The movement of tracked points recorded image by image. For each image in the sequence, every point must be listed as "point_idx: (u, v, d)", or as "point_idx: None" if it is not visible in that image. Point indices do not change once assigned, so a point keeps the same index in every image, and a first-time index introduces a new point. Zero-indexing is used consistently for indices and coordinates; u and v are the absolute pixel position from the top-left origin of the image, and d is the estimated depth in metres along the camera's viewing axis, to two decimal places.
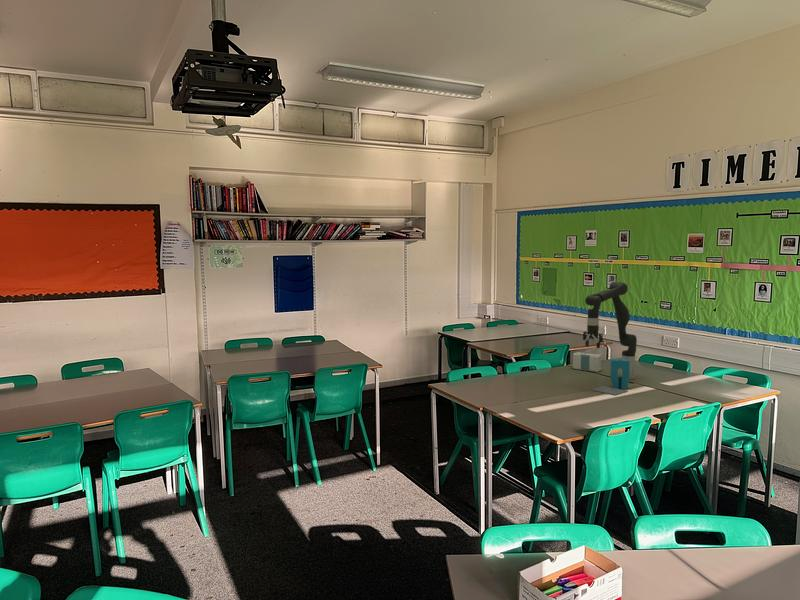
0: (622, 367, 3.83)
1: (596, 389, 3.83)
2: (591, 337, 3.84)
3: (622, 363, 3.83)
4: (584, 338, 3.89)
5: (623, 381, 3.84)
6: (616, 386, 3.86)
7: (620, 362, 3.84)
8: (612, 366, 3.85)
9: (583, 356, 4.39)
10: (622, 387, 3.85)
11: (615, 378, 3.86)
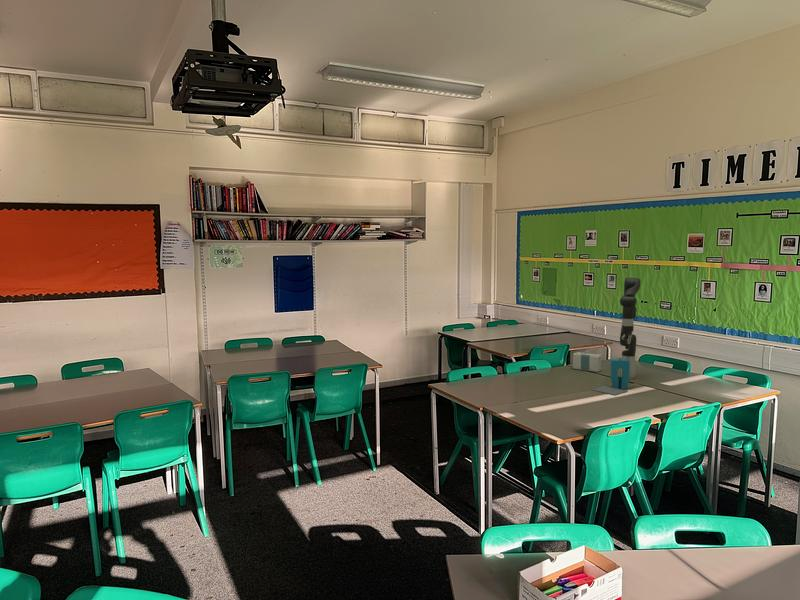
0: (622, 367, 3.83)
1: (596, 389, 3.83)
2: None
3: (622, 363, 3.83)
4: (627, 341, 3.87)
5: (623, 381, 3.84)
6: (616, 386, 3.86)
7: (620, 362, 3.84)
8: (612, 366, 3.85)
9: (583, 356, 4.39)
10: (622, 387, 3.85)
11: (615, 378, 3.86)
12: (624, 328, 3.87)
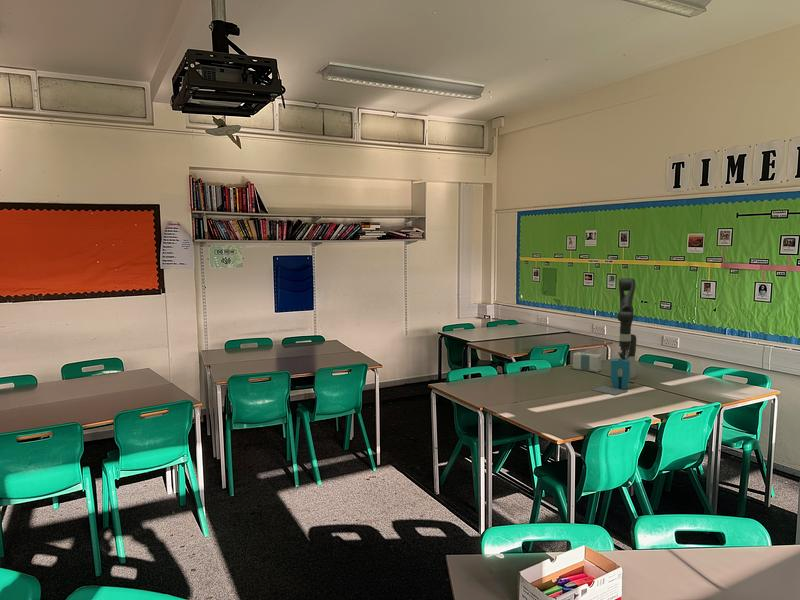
0: (622, 367, 3.83)
1: (596, 389, 3.83)
2: None
3: (622, 363, 3.83)
4: (624, 357, 3.87)
5: (623, 381, 3.84)
6: (616, 386, 3.86)
7: (620, 362, 3.83)
8: (612, 366, 3.85)
9: (583, 356, 4.39)
10: (622, 387, 3.85)
11: (615, 378, 3.85)
12: (621, 343, 3.86)
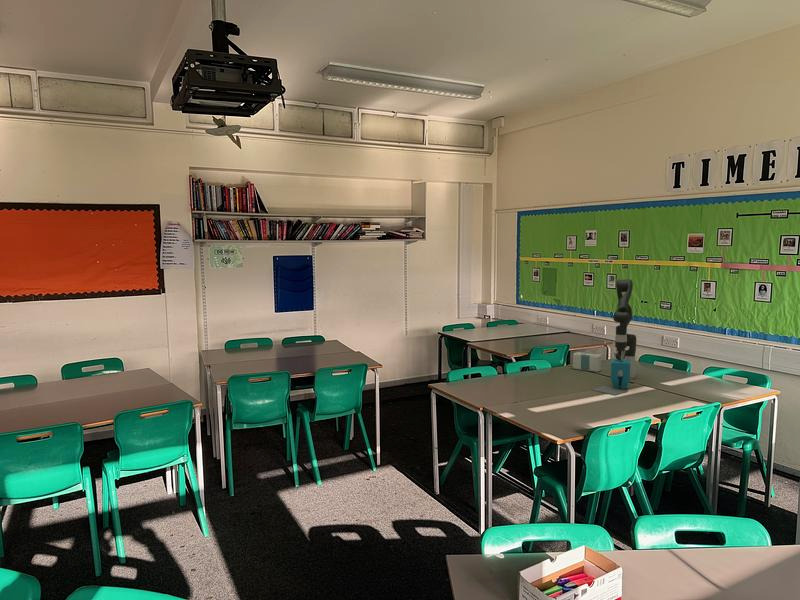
0: (622, 369, 3.80)
1: (596, 389, 3.83)
2: None
3: (623, 365, 3.79)
4: (620, 358, 3.84)
5: (623, 382, 3.83)
6: (616, 386, 3.86)
7: (620, 364, 3.79)
8: (612, 368, 3.82)
9: (583, 356, 4.39)
10: (622, 387, 3.85)
11: (615, 379, 3.84)
12: (617, 344, 3.83)
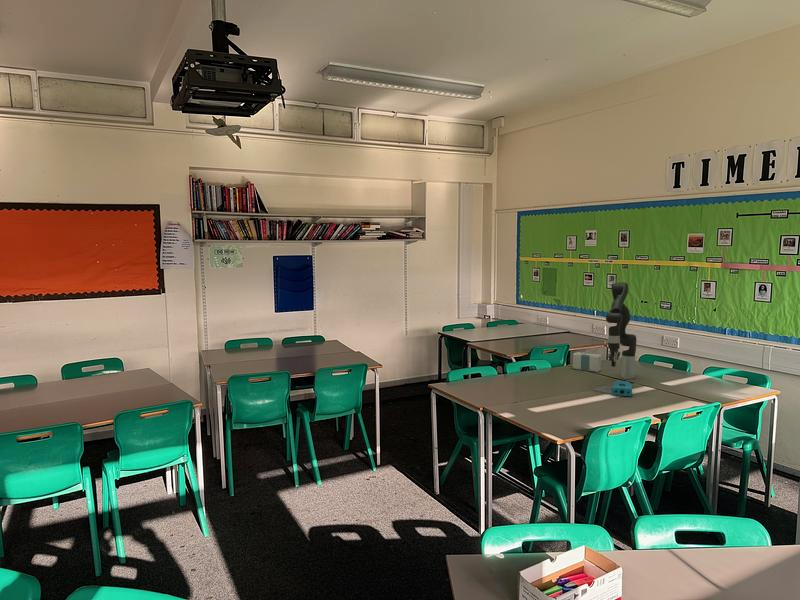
0: None
1: (596, 389, 3.83)
2: None
3: None
4: (613, 359, 3.79)
5: None
6: None
7: None
8: None
9: (583, 356, 4.39)
10: None
11: None
12: (610, 345, 3.78)
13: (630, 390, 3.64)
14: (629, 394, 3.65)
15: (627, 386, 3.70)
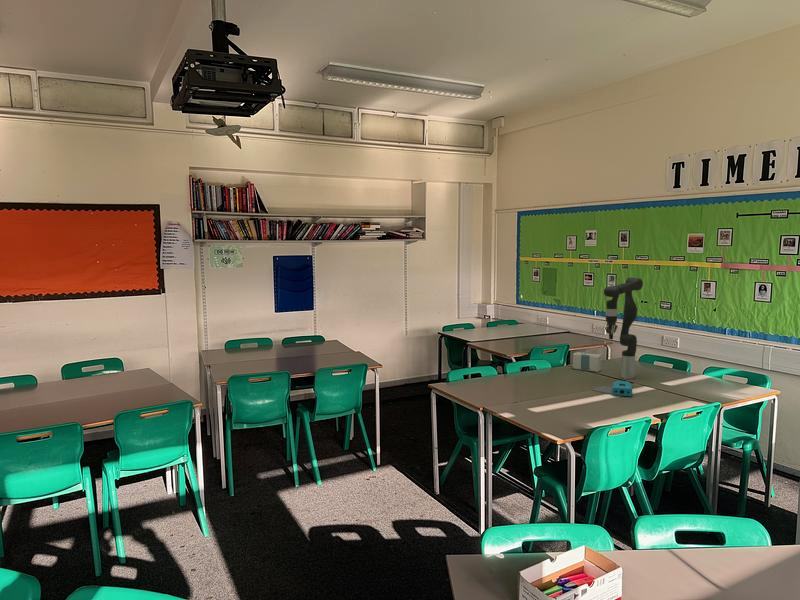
0: None
1: (596, 389, 3.83)
2: None
3: None
4: (610, 331, 3.92)
5: None
6: None
7: None
8: None
9: (583, 356, 4.39)
10: None
11: None
12: (608, 318, 3.91)
13: (630, 390, 3.64)
14: (629, 394, 3.65)
15: (627, 386, 3.70)
